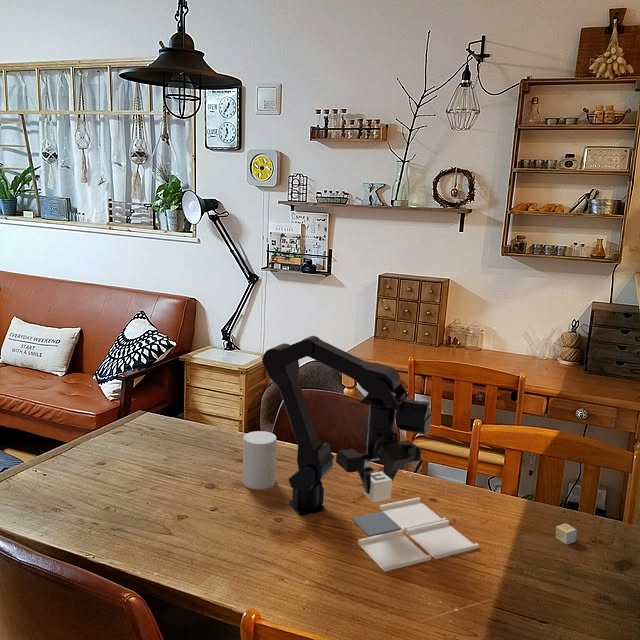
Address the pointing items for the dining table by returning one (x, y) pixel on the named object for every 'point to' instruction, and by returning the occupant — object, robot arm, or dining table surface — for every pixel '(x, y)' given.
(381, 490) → the letter cube
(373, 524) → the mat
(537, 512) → the dining table surface
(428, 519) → the tray
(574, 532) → the alphabet block
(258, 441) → the white cylinder
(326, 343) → the robot arm
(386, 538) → the tray
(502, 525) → the dining table surface
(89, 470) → the dining table surface
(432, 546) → the tray
